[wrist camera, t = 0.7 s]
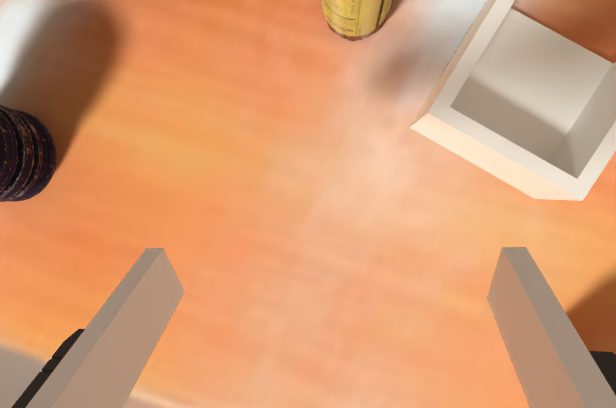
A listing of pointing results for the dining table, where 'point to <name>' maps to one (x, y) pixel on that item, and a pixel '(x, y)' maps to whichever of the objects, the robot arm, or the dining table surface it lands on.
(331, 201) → the dining table surface
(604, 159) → the bottle stand
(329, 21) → the sauce bottle
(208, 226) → the dining table surface
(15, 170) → the dark ridged cylinder
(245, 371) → the dining table surface
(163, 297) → the robot arm
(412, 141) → the dining table surface
